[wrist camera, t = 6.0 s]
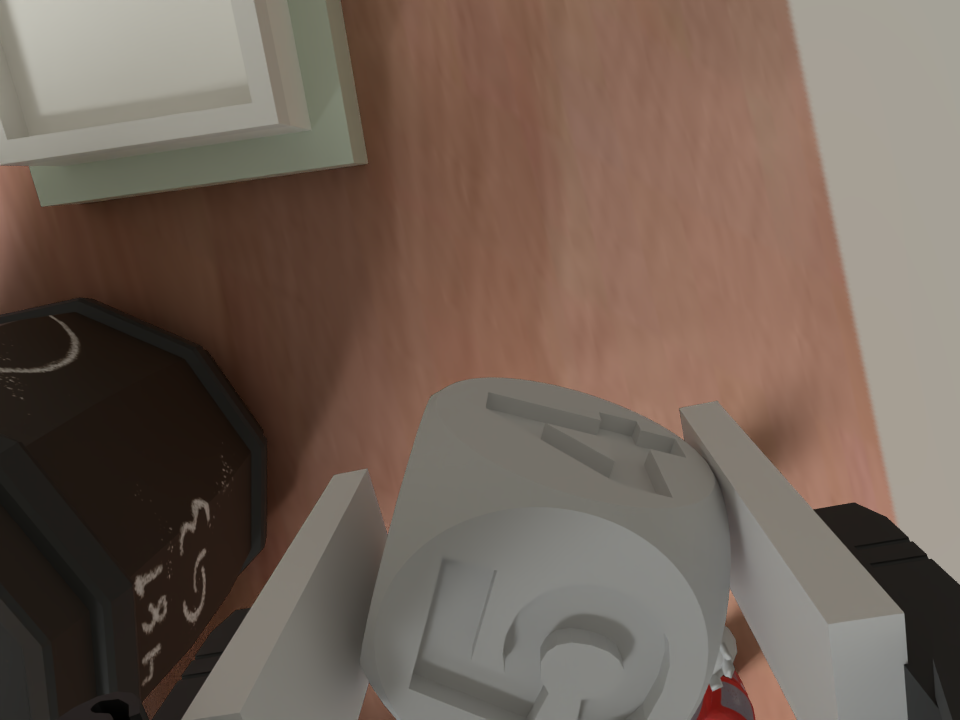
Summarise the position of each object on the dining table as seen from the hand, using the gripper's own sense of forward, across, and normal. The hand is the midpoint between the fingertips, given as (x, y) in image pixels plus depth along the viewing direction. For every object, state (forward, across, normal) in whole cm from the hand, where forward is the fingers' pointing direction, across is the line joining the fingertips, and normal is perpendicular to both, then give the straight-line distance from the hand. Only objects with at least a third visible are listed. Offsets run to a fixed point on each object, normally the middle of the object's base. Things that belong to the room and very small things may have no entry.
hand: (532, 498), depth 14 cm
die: (+1, 0, 0) cm, 1 cm away
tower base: (+18, +12, -16) cm, 27 cm away
